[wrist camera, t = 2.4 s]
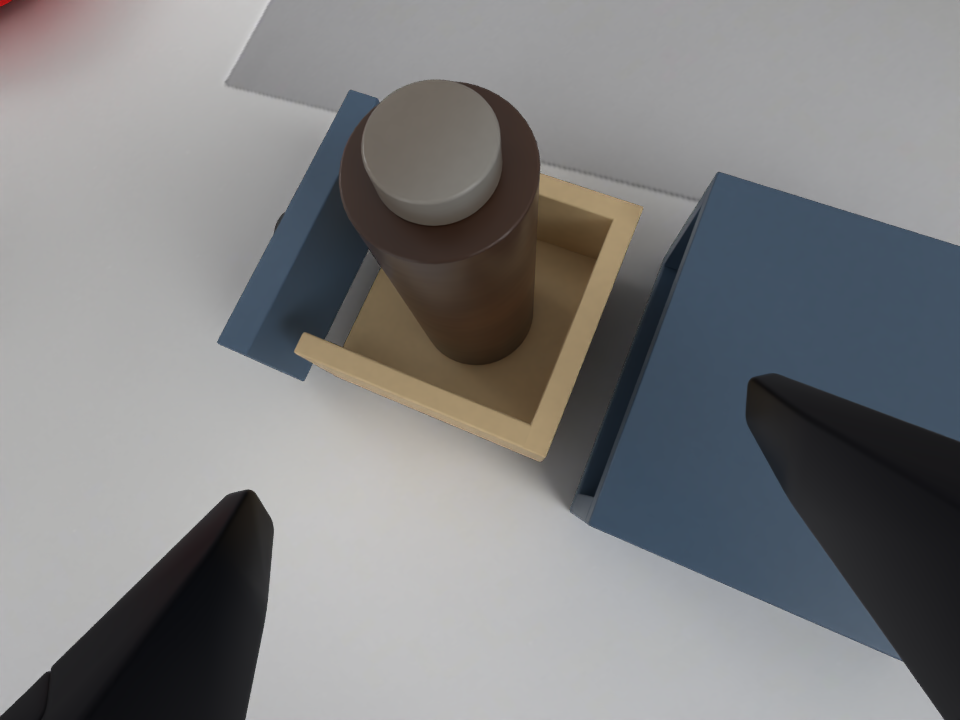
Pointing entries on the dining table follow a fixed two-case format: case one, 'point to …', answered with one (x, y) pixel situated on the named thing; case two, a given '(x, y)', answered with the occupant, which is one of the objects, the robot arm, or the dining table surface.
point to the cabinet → (757, 351)
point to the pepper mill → (450, 212)
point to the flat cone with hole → (4, 2)
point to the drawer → (395, 331)
